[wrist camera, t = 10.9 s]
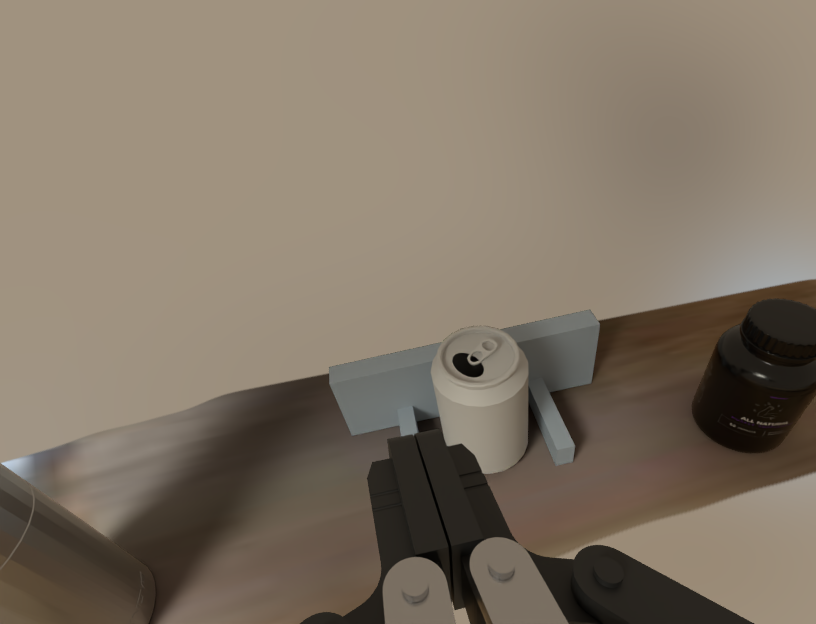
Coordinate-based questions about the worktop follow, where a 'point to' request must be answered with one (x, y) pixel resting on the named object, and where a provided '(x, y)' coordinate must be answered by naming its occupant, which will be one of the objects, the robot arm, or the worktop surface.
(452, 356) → the can
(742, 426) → the supplement bottle
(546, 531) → the worktop surface
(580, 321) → the stop bay
